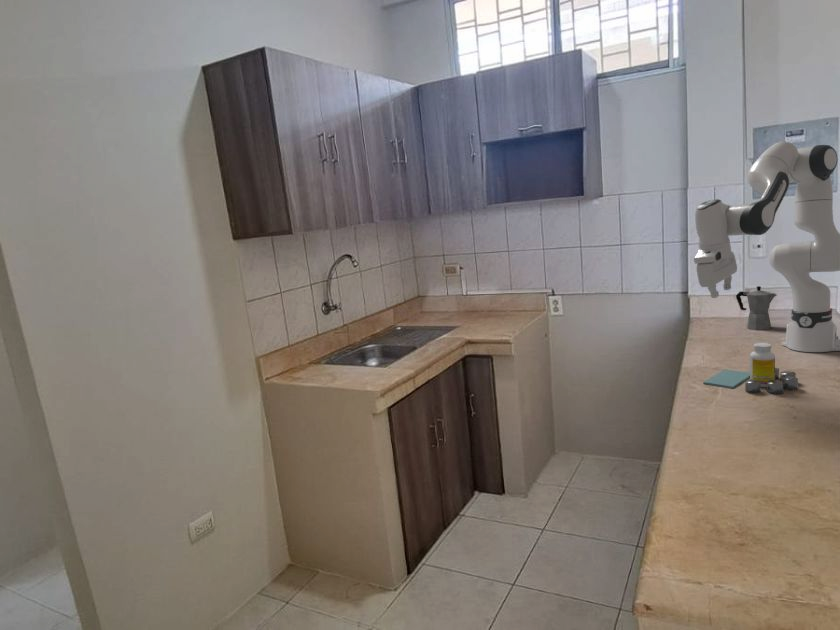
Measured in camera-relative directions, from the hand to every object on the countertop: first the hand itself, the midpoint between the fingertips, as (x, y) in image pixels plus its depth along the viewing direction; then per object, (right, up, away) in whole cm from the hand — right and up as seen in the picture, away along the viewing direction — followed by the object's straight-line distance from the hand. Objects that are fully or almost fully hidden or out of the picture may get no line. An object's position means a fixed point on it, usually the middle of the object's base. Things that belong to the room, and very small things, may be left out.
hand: (721, 293), depth 182 cm
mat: (+3, -28, +1) cm, 28 cm away
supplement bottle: (+9, -29, -7) cm, 31 cm away
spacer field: (+12, -29, -9) cm, 33 cm away
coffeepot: (+47, -13, +59) cm, 76 cm away
